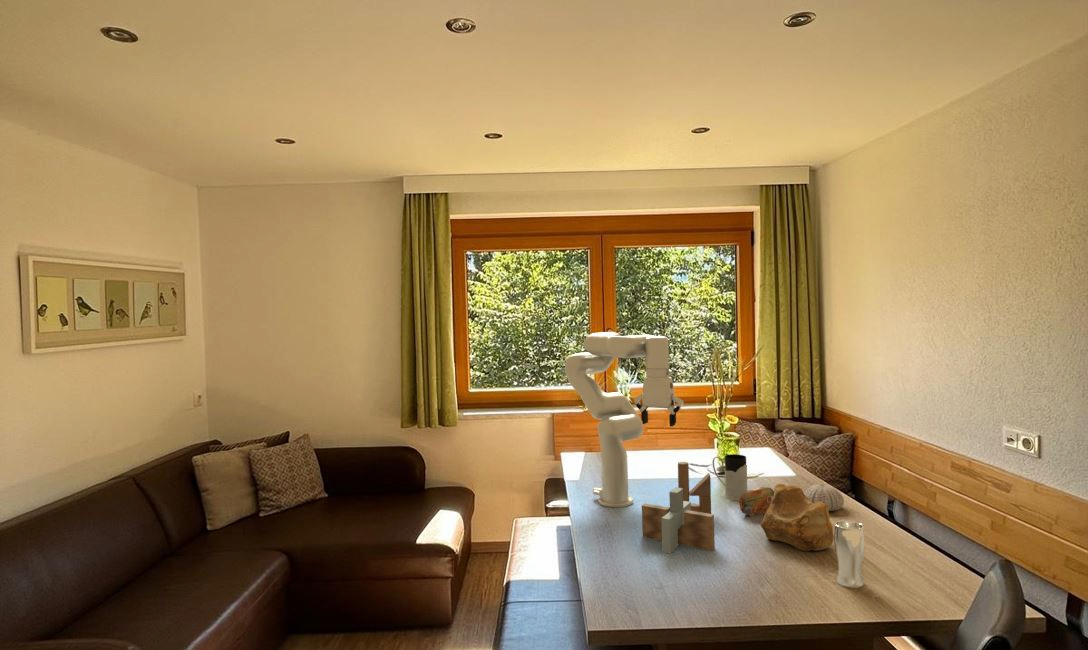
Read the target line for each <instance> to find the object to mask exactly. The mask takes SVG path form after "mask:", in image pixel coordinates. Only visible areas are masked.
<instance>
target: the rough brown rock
mask: <svg viewBox="0 0 1088 650" xmlns="http://www.w3.org/2000/svg"><path fill="white" fill-rule="evenodd" d="M773 489H774V490H773V491H774V496H773V499H772V501H771V503H770V506H769V508H768V509H767V511H766V513H764V516H763V518H762V521H761V522H760V527H761V528H762V530H763V532H764V534H765V537H766V538H767V539H769V540H771V541H775V542H779V541H780V542H783V543H786V544H789V545H791V546H793V547H794V548H796V549H798V550H800V551H803V552H807V553H809V551H814V552H817V551H822V550H825V549H826V550H827V549H828V548H829V547H831V546H832V545H833V543H834V529H833V525H832V522H831V518H830V517H831V516H830V511H828V507H827V506H826V505H825V504H824V503H822V502H816V503H815V504H813V503H812V501H811V500H810V499H809V498H808V497H806V496H805V495H804V493H805V492H804V491H803V489H802V488H801V487H800V486H797V485H794V484H789V485H786V484H783V483H777V484H776V485H774V488H773Z"/></svg>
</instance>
